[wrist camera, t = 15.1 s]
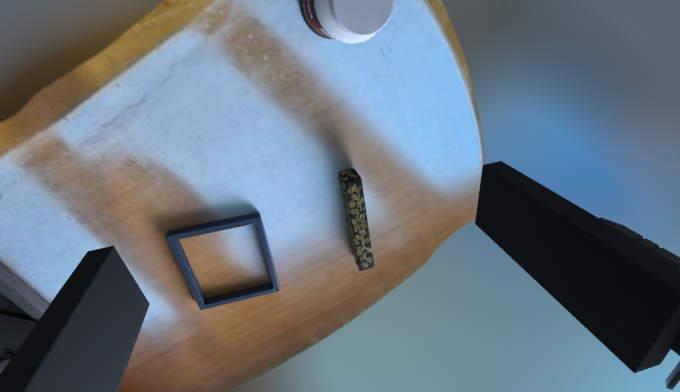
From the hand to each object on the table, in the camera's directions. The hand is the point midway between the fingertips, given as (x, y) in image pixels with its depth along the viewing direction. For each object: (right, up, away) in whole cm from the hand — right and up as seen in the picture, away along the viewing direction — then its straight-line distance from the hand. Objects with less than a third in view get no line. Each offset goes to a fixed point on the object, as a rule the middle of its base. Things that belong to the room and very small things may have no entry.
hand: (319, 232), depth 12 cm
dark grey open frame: (-15, -8, +33) cm, 37 cm away
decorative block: (+3, -1, +34) cm, 34 cm away
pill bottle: (0, +21, +20) cm, 29 cm away
